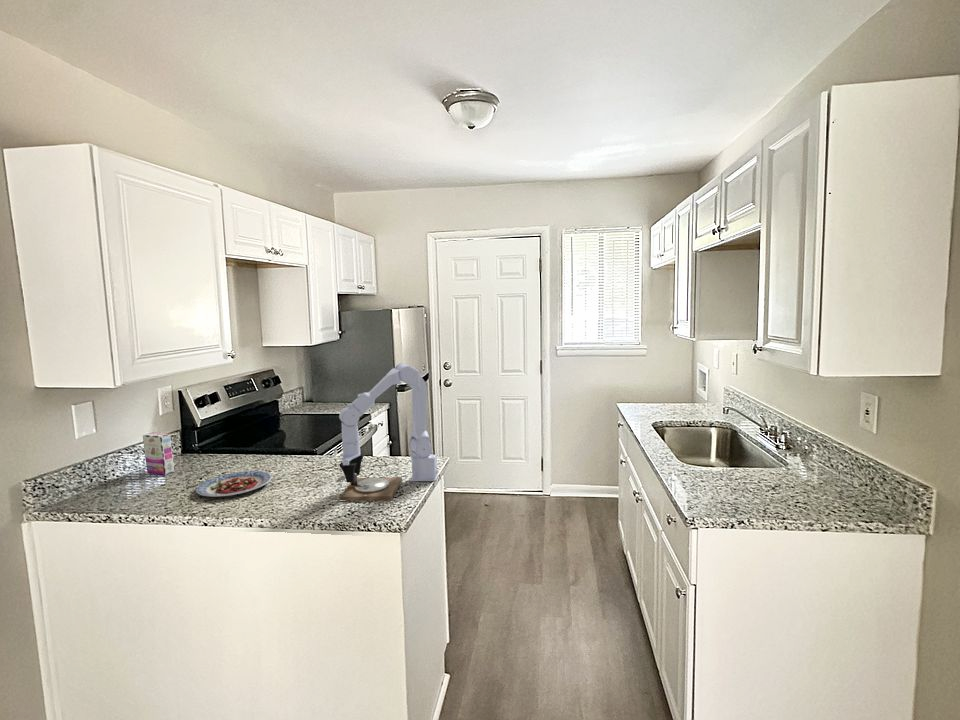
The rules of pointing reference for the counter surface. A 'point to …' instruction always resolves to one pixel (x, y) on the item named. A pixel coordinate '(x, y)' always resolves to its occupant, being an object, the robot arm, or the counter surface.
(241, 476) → the ceramic plate
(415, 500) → the counter surface
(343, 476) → the adjustable wrench
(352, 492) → the dial board
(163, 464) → the candy bar box
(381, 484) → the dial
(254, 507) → the counter surface
